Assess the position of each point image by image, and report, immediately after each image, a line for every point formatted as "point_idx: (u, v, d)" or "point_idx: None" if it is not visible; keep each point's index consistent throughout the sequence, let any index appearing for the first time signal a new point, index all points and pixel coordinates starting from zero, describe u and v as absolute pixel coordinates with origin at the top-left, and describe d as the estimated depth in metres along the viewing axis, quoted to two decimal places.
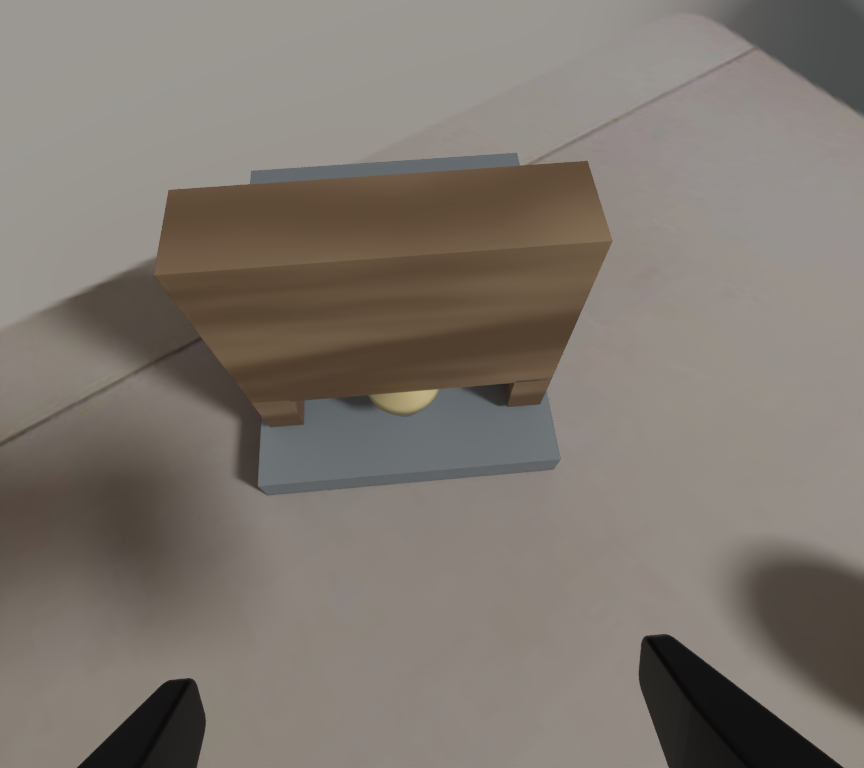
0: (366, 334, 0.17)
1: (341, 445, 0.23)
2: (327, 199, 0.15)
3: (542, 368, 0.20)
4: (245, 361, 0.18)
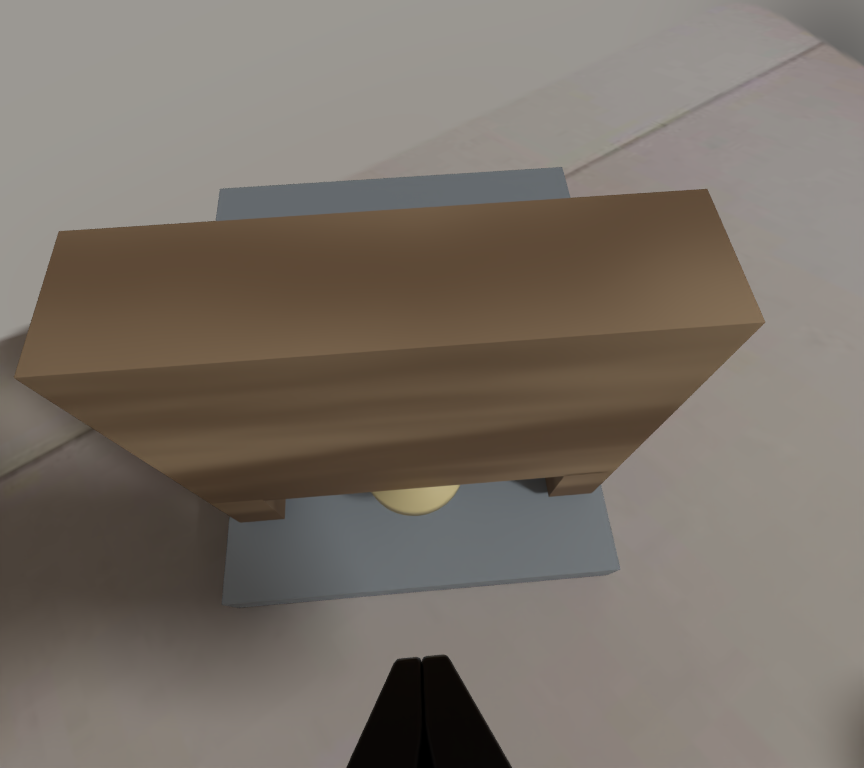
0: (365, 436, 0.12)
1: (333, 547, 0.18)
2: (305, 248, 0.09)
3: (605, 462, 0.15)
4: (192, 467, 0.13)
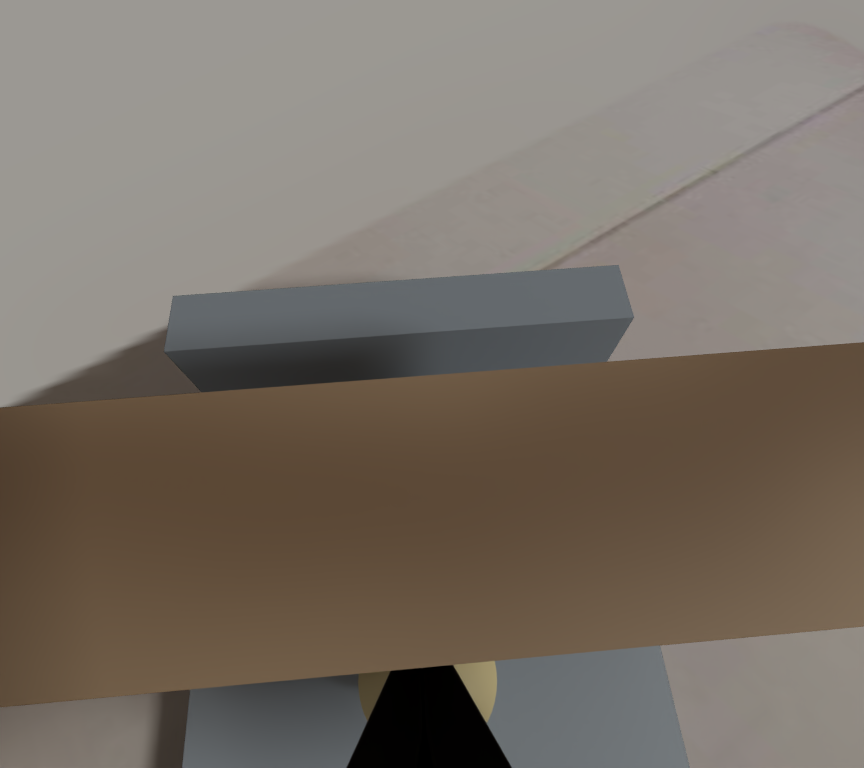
0: None
1: None
2: (258, 451, 0.06)
3: None
4: None
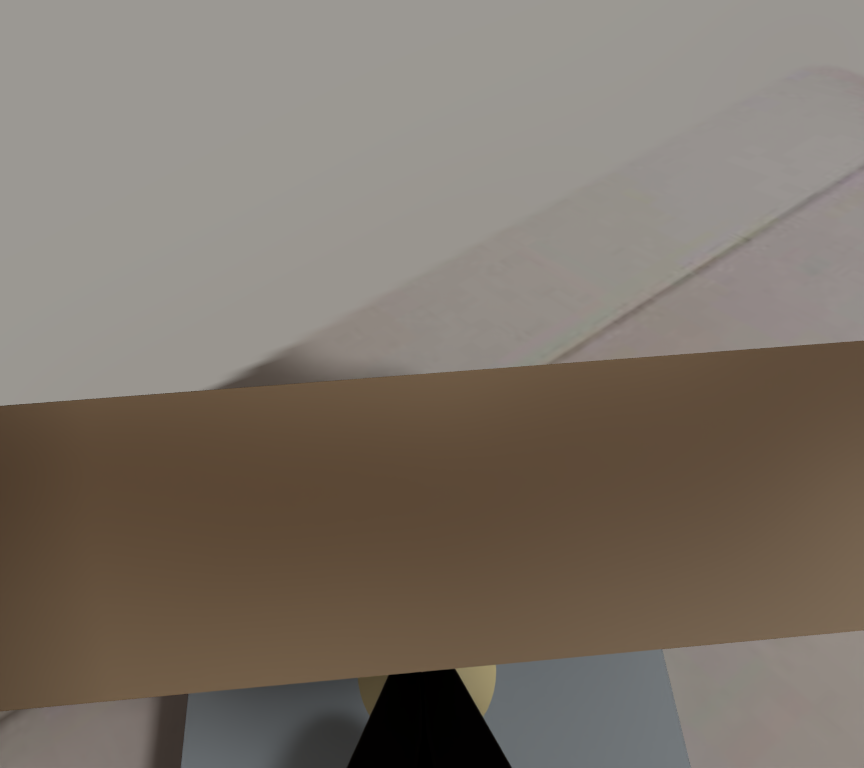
0: None
1: None
2: (256, 451, 0.06)
3: None
4: None
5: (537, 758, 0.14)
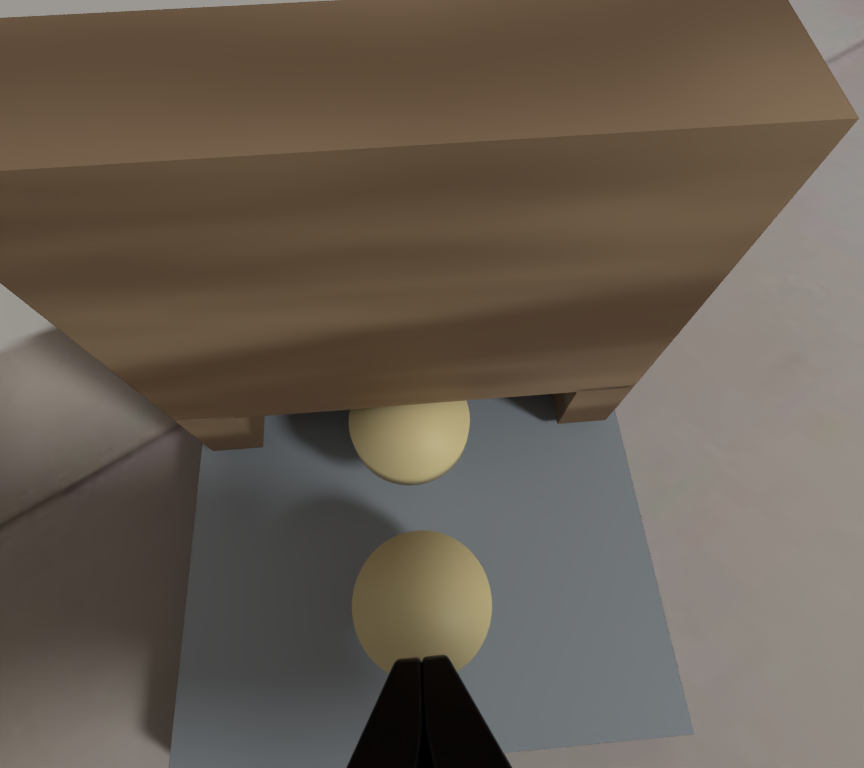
0: (345, 315, 0.10)
1: (315, 700, 0.13)
2: (261, 39, 0.07)
3: (625, 371, 0.13)
4: (142, 360, 0.11)
5: (508, 520, 0.15)
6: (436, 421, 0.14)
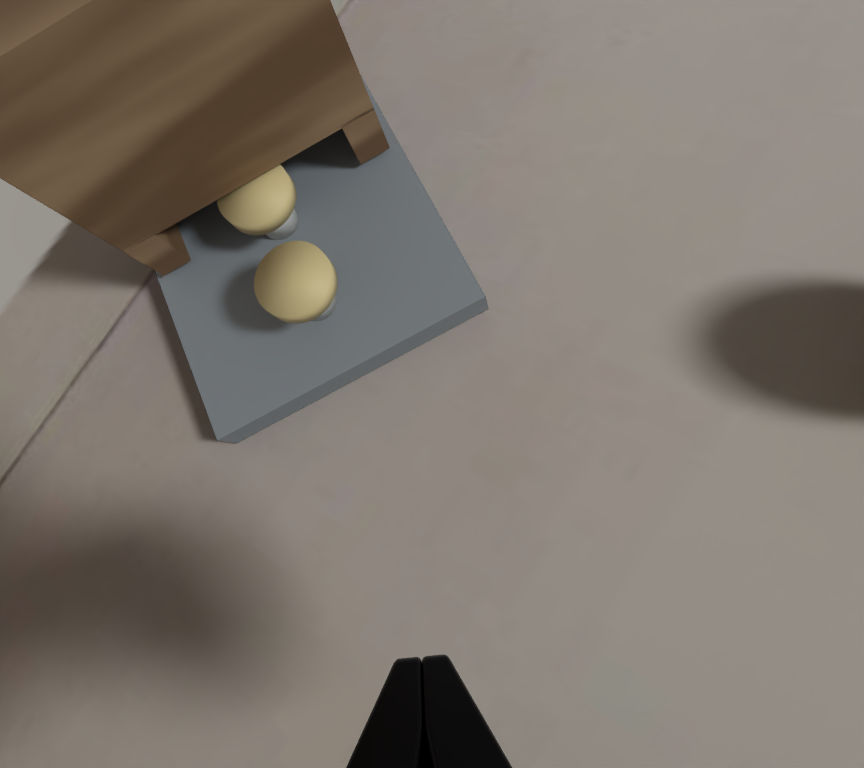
0: (151, 118, 0.17)
1: (276, 371, 0.23)
2: None
3: (353, 97, 0.20)
4: (73, 199, 0.19)
5: (350, 235, 0.24)
6: (268, 185, 0.22)
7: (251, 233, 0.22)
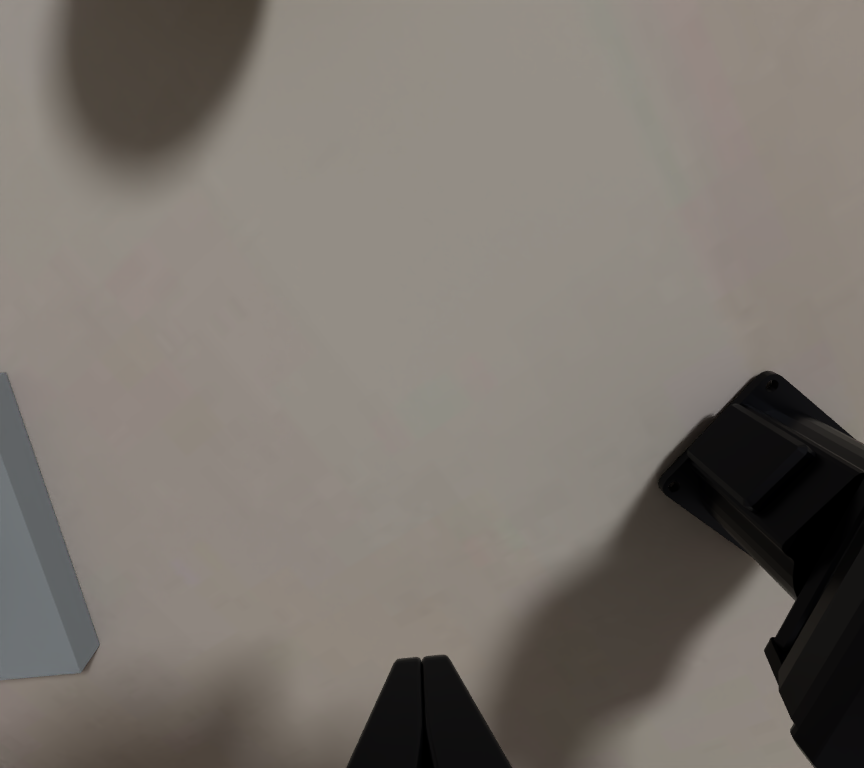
0: None
1: (18, 608, 0.21)
2: None
3: None
4: None
5: None
6: None
7: None
